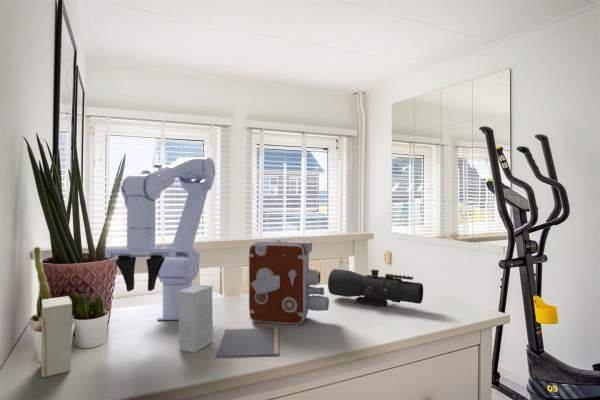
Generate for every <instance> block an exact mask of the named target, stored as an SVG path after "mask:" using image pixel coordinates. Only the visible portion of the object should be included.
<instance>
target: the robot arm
mask: <svg viewBox="0 0 600 400" xmlns="http://www.w3.org/2000/svg"><path fill="white" fill-rule="evenodd" d="M215 176H216V166H215V162H214V161H213V159H212V158H211V157H209V156H206V157H185V158H184V157H179V158H176V159H175V161H174V162H172V163H171V164H169V165H166V164H163V163H154V164H153V167H152V168H150V169H147V168H146V169H143V170H142V171H141V172H140V173H138V174H137V173H136V174H133V173H132V174H129V175H128V176H126V177H125V178H124V179H123V181H122V185H121V186H120V191H121V194H122V196H123V199H124V206H125V208H126V247H108V248H105V249H104V258H107V259H109V258H117V259H116V260H115V264H116V266H117V267H118V269H119V272H120V273H121V275H122V277H123V281H124V283H125V287H126V291H127V292H131V291H134V289H135V270H136V269H135V268H136V260H137V258H147V259H146V266H147V267H146V268H147V274H148V275H147V291H148V292H151V291H153V290H155V288H156V287H155V286H156V284H157V283H156V281H157V278H158V279H159V282H160V283H162V313H161V314H160V315H159V316H158V317H157V321H172V320H173V321H174V320H176V321H177V320H178V321H179V294H178V292H179V291H181V290H183V289H186V288H189V287H192V286H194V284H193V281H194V280H195V279H196V278H197V276H198V274H199V271H200V259H201V258H200V257H201V256H200V253H199V252H198V250H196V248H195V247H194V244H195V239H196V236H197V232H198V229H199V227H200V226H199V225H200V221H201V218H202V215H203V214H202V213H203V211H204V207H205V204H206V203H205V202H206V199H207V196H208V192H209V191H210V190H212V186H213V184H214V181H215ZM176 179H178V180H179V182H180V183H179V184H180V185H181V188H182V190H184V191H186V192H187V196H186V199H185V202H184V203H185V204H184V206H183V209H182V213H181V215H180V220H179V223H178V226H177V229H176V232H175V236H174V238H173V242H172V243H170V244H168V245H167V246H166V247H163V246H156V200H158V199H159V198H160V196H161V194H162V192H163V191H164V190H167V189H168V188H170V187H172V186H173V184H174V183H175V181H176Z"/></svg>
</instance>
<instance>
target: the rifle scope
mask: <svg viewBox="0 0 600 400" xmlns="http://www.w3.org/2000/svg"><path fill="white" fill-rule="evenodd" d="M370 272H371V274H366V275H362V274H359V273H358V272H355V271H351V270H348V269H339V268H337V269H336V268H334V269H332V270H331V271H330V273H329V274H328V278H327V280H328V281H327V289H328V292H329V293H330V294H331V295H333V296H339V297H346V298H350V297H357V298H355V304H356V305H361V304H362V305H363V306H369V307H373V308H381V309H385V306H386V307H387V306H389V305H388V304H389V303H388V301H390V302H392V303H398V304H399V303H401V302H406V303H412V304H418V305H419V304H422V302H423V299H424V285H423V283H421V282H415V281H411V280H413V279H414V276H410V275H407V276H406V275H401V274H392V273H385V276H379V269H371V270H370ZM406 280H410V281H406Z"/></svg>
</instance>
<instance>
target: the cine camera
mask: <svg viewBox="0 0 600 400" xmlns="http://www.w3.org/2000/svg"><path fill="white" fill-rule="evenodd" d="M312 251H313V242H312V241H307V240H306V241H305V240H304V241H302V240H281V239H276V240H269V239H268V240H265V239H263V240H259V241H256V242H254V241H253V243H252V244H250V247H249V250H248V312H249V318H250V320H251V321H253V322H256V323H264V324H265V323H268V324H281V325H282V324H283V325H301V324H303V322H304V321H305V320H306V317H307V316H308V314H309V311H310V310H311V311H313V312H314V311H316V312H323V311H324V312H325V311H329V308H330V307H329V305H330V300H329V299H330V298H329V297H328V296H324V295H325V287H323V286H321V287H320V286H319V287H317V285H318V284H319V285H320V283H321V272H320V271H318V269H311V268H310V260H309V259H310V255H309V254H310V253H311V252H312ZM311 285H313V286H311Z"/></svg>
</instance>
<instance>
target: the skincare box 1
mask: <svg viewBox="0 0 600 400" xmlns="http://www.w3.org/2000/svg"><path fill="white" fill-rule="evenodd" d="M72 325H73V301H72V298H71V297H70V296H69V295H66V296H59V297H51V298H43V299H41V340H40V341H41V342H40V343H41V347H40V349H41V350H40V353H41V354H40V366H41V367H40V369H41V370H40V372H41V378H47V377H51V376H56V375H59V374H65V373H69V372H71V371H72V333H73V332H72V331H73V329H72V328H73V326H72Z"/></svg>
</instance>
